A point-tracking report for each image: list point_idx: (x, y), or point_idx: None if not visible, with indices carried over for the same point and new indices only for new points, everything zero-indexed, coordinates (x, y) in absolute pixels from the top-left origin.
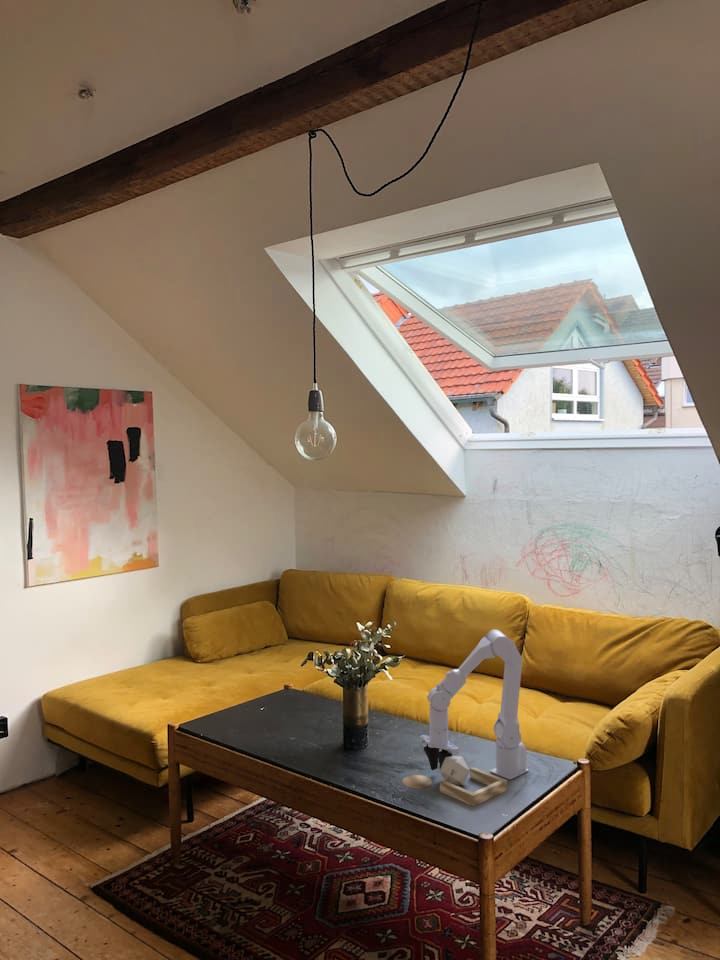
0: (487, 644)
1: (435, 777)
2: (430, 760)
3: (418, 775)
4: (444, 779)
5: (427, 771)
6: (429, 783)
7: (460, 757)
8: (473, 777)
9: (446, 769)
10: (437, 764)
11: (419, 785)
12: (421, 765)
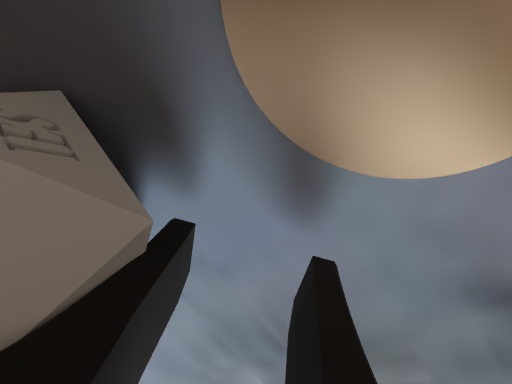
0: None
1: (280, 202)
2: (328, 358)
3: (471, 162)
4: (59, 121)
5: (409, 270)
6: (247, 38)
7: None
8: None
9: None
10: (289, 338)
11: None
12: (508, 337)
